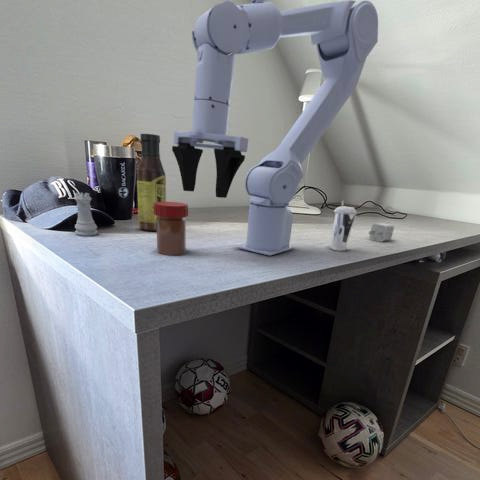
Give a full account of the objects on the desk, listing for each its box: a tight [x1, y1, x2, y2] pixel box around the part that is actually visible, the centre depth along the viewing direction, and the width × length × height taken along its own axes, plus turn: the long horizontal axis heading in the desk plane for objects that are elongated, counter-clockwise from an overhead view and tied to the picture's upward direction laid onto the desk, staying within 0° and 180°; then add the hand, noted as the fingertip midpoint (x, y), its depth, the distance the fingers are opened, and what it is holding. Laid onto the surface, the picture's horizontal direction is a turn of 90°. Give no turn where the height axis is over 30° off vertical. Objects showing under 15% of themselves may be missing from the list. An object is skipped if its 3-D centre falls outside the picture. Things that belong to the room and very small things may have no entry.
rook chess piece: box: [73, 192, 99, 237], centre depth 70 cm, size 4×4×8 cm
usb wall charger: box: [368, 222, 395, 242], centre depth 89 cm, size 4×7×4 cm, turn 132°
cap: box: [154, 201, 189, 218], centre depth 61 cm, size 6×6×2 cm
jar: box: [156, 216, 187, 256], centre depth 62 cm, size 5×5×8 cm
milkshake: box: [330, 200, 357, 252], centre depth 75 cm, size 5×5×10 cm
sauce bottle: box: [136, 133, 167, 232], centre depth 77 cm, size 7×6×20 cm
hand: (204, 194), depth 60 cm, fingers open, 7 cm apart
